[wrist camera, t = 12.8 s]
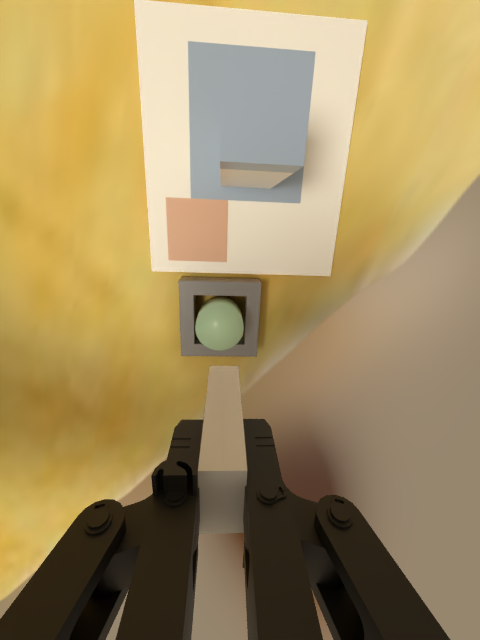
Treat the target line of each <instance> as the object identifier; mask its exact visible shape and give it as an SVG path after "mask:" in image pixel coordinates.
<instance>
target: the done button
mask: <svg viewBox="0 0 480 640" xmlns="http://www.w3.org/2000/svg"><path fill="white" fill-rule="evenodd" d="M195 331H196V335H197V337H198V339H199V341H200V342H201V343H202V344H203V345H204V346H206V347H207V348H210V349H213V350H227V349H229V348H232V347H233V346H235V345H236V344H237V343H238V342H239V341H240V339H241V338H242V335H243V331H244V325H243V319H242V314H241V311H240V309H239V307H238V305H237V304H236V303H235V302H233V301H232V300H230V299H228V298H225V297H215V298H211V299H209V300H208V301H206V302H205V303H204V304H203V305H202V306H201V308H200V310H199V313H198V316H197V320H196V325H195Z"/></svg>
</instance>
